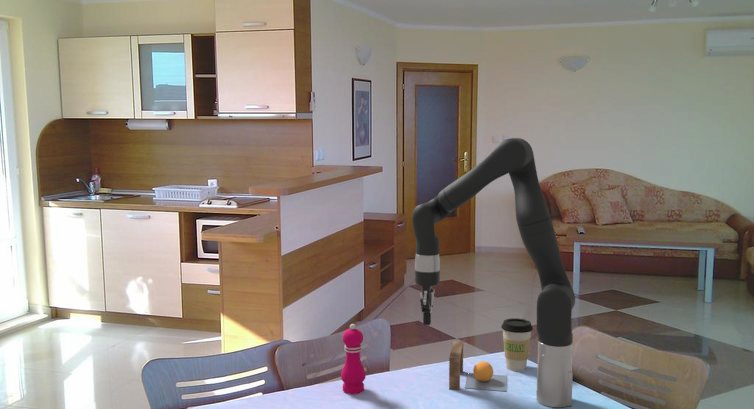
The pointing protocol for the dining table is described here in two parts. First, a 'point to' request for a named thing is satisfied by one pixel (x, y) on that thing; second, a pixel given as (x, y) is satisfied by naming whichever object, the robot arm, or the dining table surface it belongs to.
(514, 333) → the coffee cup
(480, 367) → the ball
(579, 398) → the dining table surface
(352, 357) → the pepper mill
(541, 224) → the robot arm
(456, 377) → the bridge
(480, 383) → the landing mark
